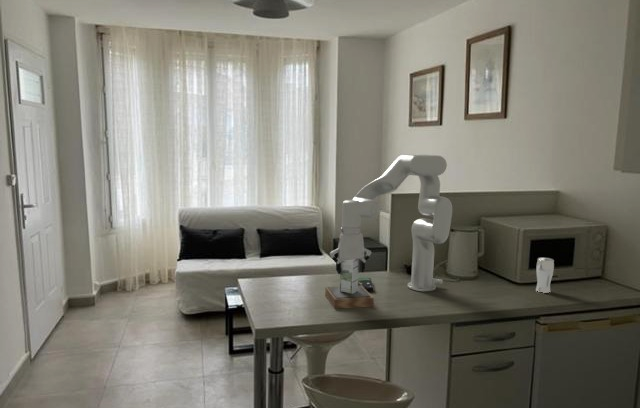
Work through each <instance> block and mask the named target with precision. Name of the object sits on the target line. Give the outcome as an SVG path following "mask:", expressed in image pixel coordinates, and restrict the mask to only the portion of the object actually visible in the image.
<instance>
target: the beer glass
mask: <svg viewBox="0 0 640 408" xmlns="http://www.w3.org/2000/svg"><path fill="white" fill-rule="evenodd" d="M554 262H555V260H554V259H553V258H550V257H538V258H537V262H536V269H535V270H536V281H537V283H536V287H535V292H537V291H538V292H537V293H539V292H543V293H542V294H544V293H549V292H550V293H551V281H552V278H553V275H554V268H555V263H554ZM550 293H549V294H550Z"/></svg>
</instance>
